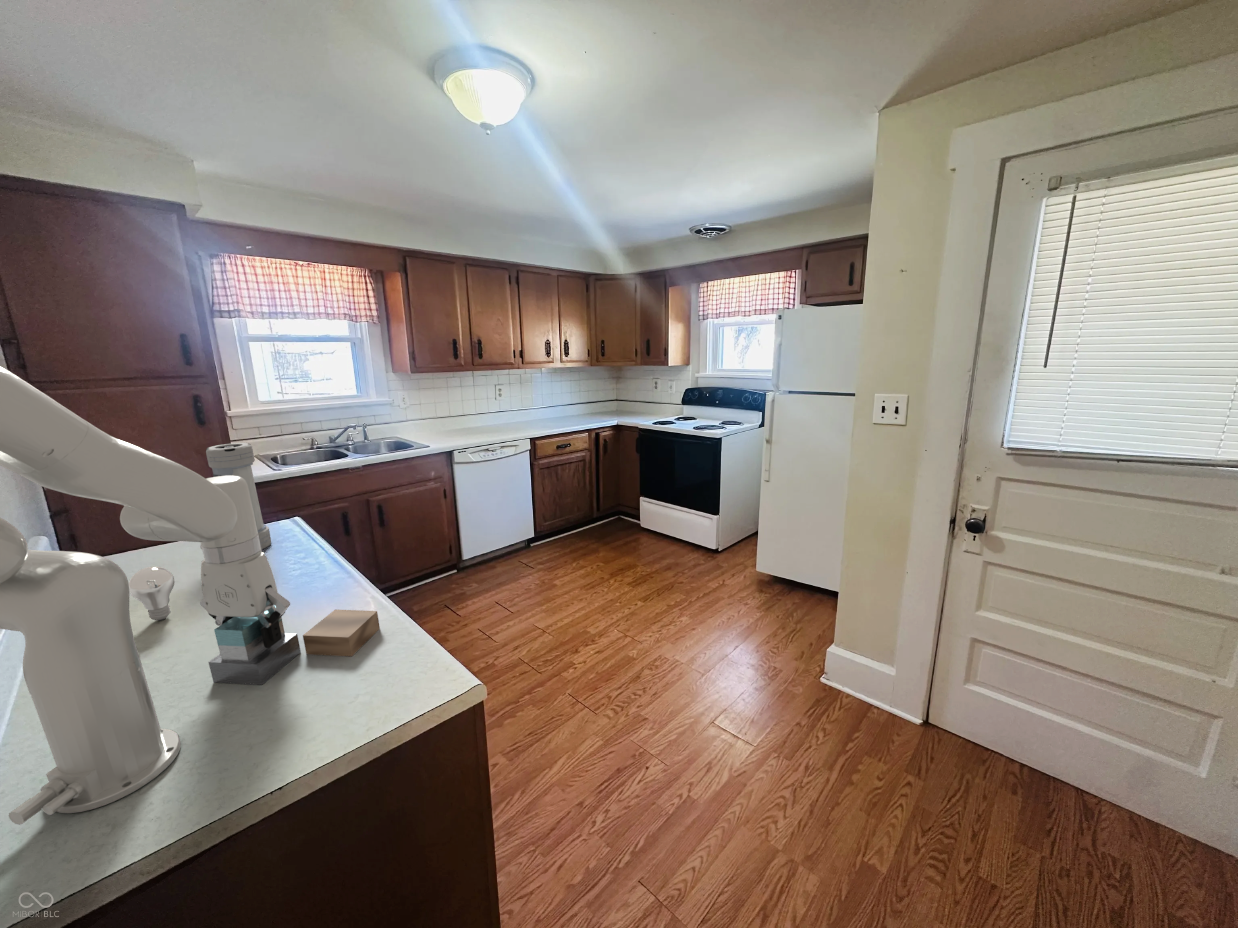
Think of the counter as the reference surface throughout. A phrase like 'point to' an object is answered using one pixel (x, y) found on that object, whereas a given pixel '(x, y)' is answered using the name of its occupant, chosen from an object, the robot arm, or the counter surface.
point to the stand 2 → (341, 633)
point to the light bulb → (153, 590)
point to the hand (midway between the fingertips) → (253, 641)
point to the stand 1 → (257, 663)
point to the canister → (238, 463)
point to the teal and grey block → (242, 638)
